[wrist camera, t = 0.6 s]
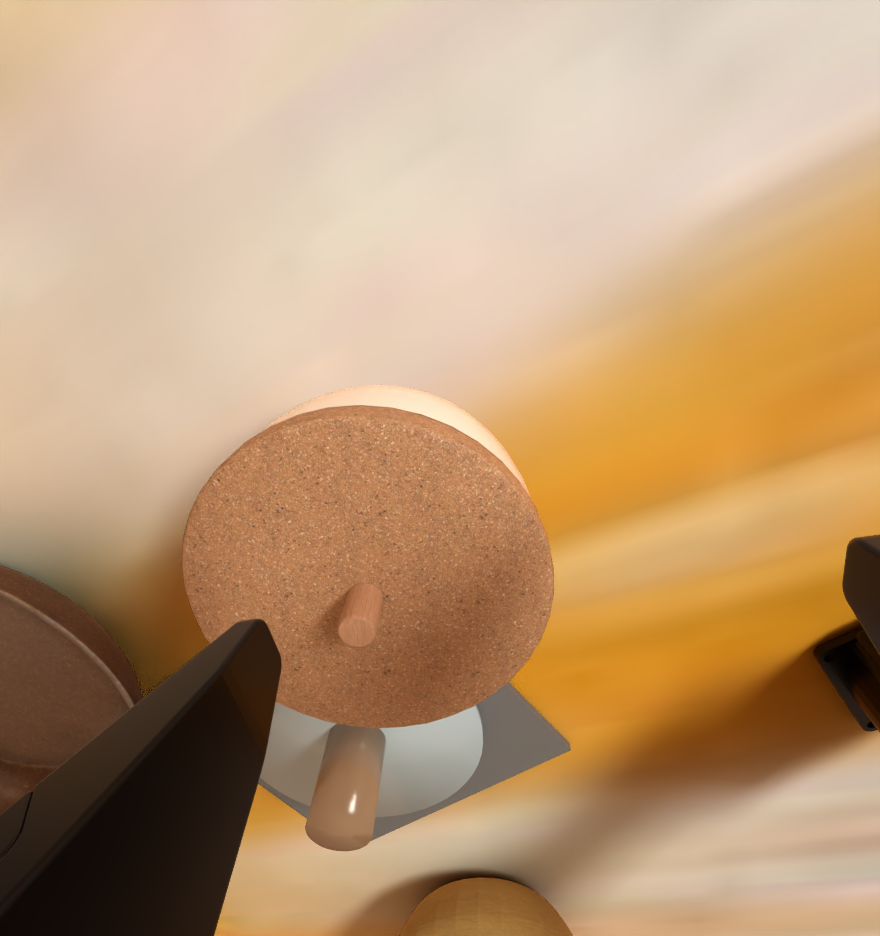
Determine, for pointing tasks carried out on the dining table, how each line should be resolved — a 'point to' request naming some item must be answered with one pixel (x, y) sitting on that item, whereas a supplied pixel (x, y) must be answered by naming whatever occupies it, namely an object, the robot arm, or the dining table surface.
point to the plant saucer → (52, 682)
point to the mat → (485, 753)
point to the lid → (367, 770)
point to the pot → (484, 911)
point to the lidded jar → (375, 556)
